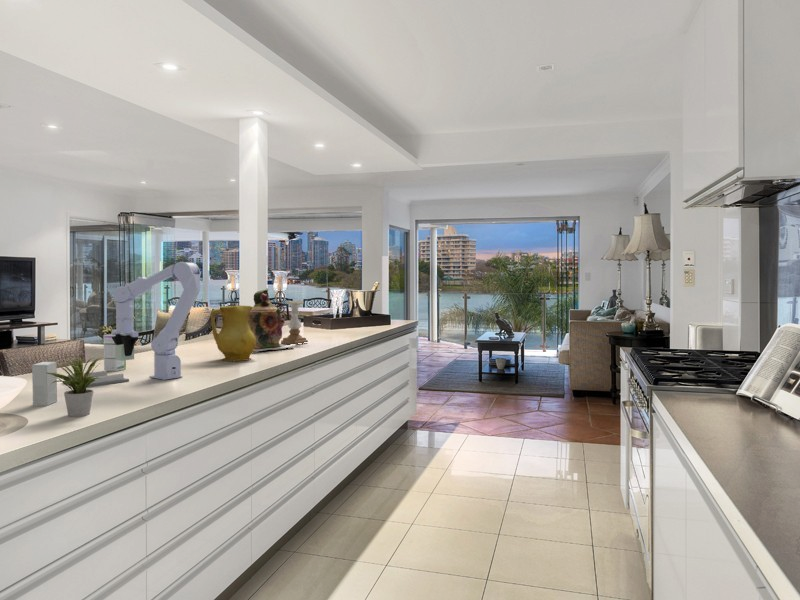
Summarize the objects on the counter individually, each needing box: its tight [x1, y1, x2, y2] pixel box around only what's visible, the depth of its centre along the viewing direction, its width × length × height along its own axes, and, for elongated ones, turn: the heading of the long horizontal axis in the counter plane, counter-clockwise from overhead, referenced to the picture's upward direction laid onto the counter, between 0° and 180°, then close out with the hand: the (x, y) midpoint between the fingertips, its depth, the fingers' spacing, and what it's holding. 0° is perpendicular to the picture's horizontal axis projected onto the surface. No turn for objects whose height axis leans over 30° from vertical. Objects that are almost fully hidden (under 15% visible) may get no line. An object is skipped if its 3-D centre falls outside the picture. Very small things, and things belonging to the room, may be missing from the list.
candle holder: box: [280, 300, 309, 345], centre depth 342 cm, size 11×11×24 cm
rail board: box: [63, 370, 130, 388], centre depth 212 cm, size 14×16×3 cm
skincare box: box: [31, 361, 58, 407], centre depth 176 cm, size 6×4×12 cm
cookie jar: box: [248, 287, 296, 353], centre depth 317 cm, size 25×25×32 cm
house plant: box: [47, 355, 104, 418], centre depth 165 cm, size 14×14×16 cm
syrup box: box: [103, 333, 127, 372], centre depth 240 cm, size 6×6×14 cm
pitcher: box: [210, 305, 256, 362], centre depth 275 cm, size 17×19×25 cm
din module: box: [115, 344, 135, 361], centre depth 225 cm, size 4×5×6 cm
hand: (124, 355), depth 225 cm, fingers closed on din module, 4 cm apart
